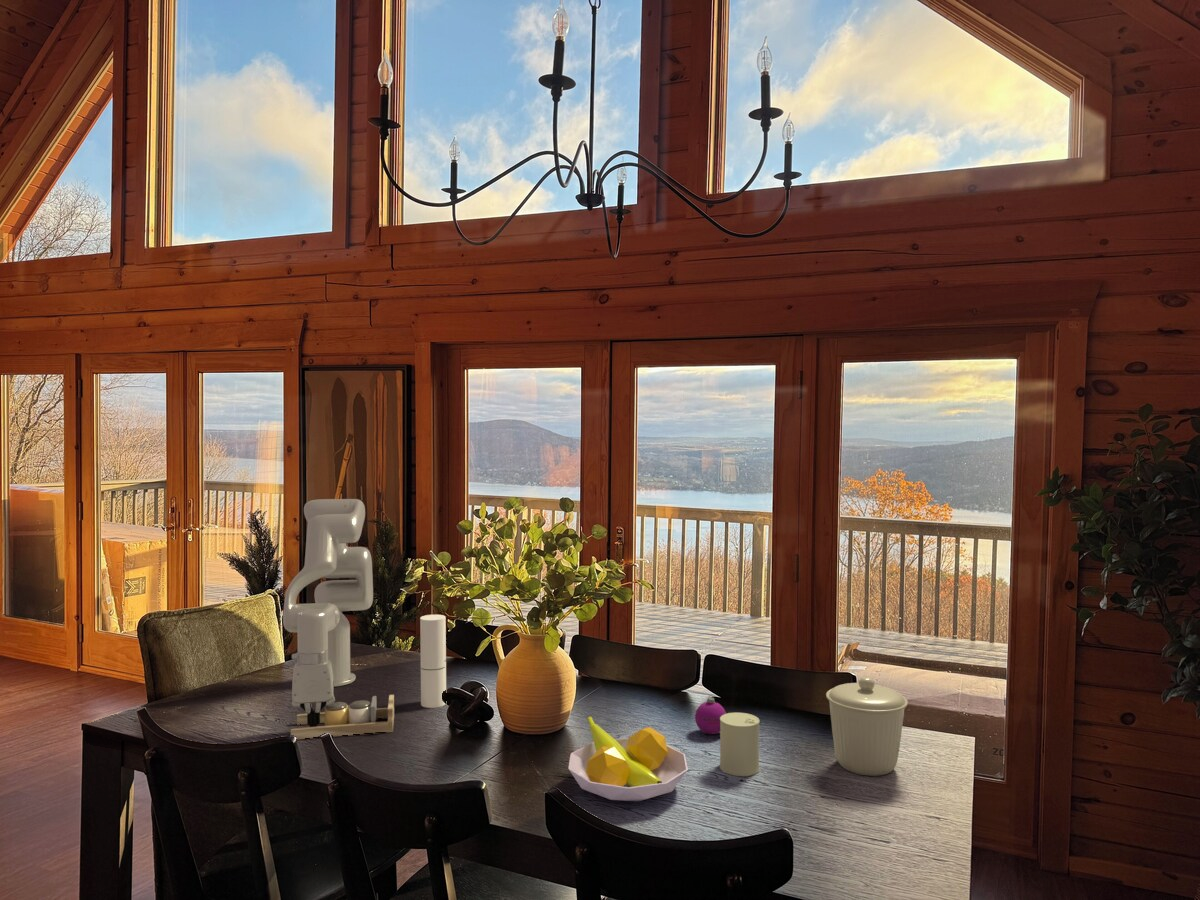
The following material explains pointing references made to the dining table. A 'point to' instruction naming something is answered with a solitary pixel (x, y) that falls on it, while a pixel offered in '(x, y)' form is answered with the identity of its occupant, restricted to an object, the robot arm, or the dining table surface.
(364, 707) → the cream jar
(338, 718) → the amber jar
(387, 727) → the lane
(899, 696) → the canister
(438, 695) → the cylindrical container
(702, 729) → the christmas ornament
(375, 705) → the pusher
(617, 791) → the fruit bowl
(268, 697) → the dining table surface
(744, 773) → the can
